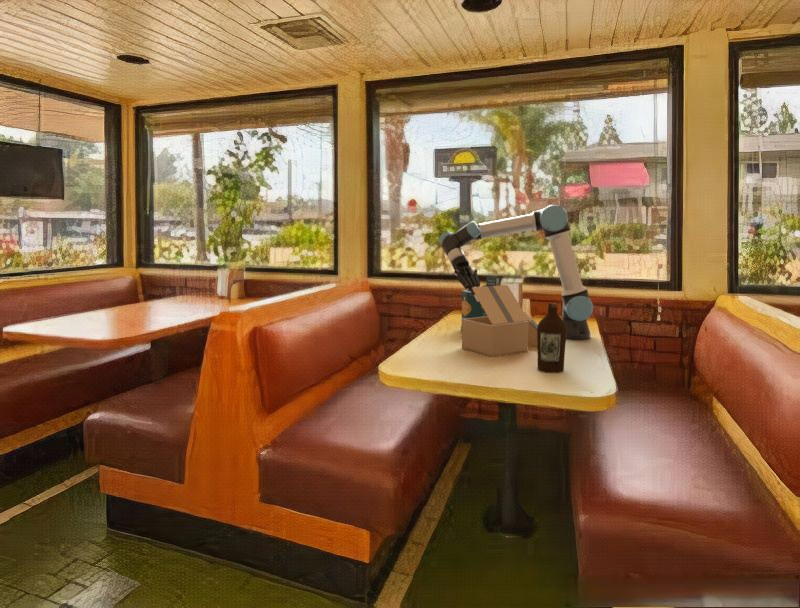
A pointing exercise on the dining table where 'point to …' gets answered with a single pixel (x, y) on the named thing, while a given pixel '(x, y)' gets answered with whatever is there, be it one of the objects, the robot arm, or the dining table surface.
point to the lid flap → (500, 304)
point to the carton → (494, 336)
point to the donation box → (475, 301)
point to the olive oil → (551, 341)
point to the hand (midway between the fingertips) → (480, 299)
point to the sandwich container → (532, 331)
